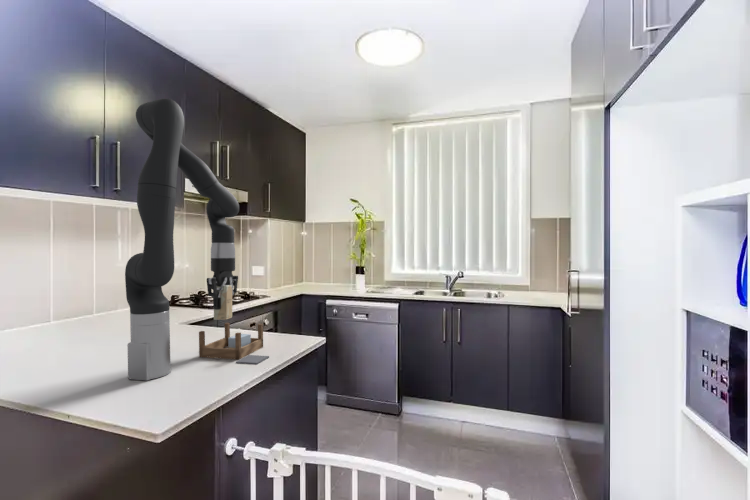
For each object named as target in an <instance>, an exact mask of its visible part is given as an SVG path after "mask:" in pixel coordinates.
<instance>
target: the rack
mask: <svg viewBox="0 0 750 500" xmlns="http://www.w3.org/2000/svg"><path fill="white" fill-rule="evenodd" d="M230 323H231V322H224V337H223V338H220V339H218V340H216V341H213V342H210V343H208V344H206V334H205V333H206V332H205V331H204V330H200V331H198V353H199V354H198V356H199V357H198V358H207V359H208V358H209V359H221V360H222V359H224V360H225V359H226V360H237V361H238V360H240V359H242V358H244V357H246V356H248V355H252V354H254V352H256V351H258V350H260V349H263V348H264V323H258V324H257V337H251V343H250V344H248V345H246V346H243V347H241V334H242V332H235V334H234V336H235V349H229V347H228V338H229V337H231V326H230V325H231V324H230Z"/></svg>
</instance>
